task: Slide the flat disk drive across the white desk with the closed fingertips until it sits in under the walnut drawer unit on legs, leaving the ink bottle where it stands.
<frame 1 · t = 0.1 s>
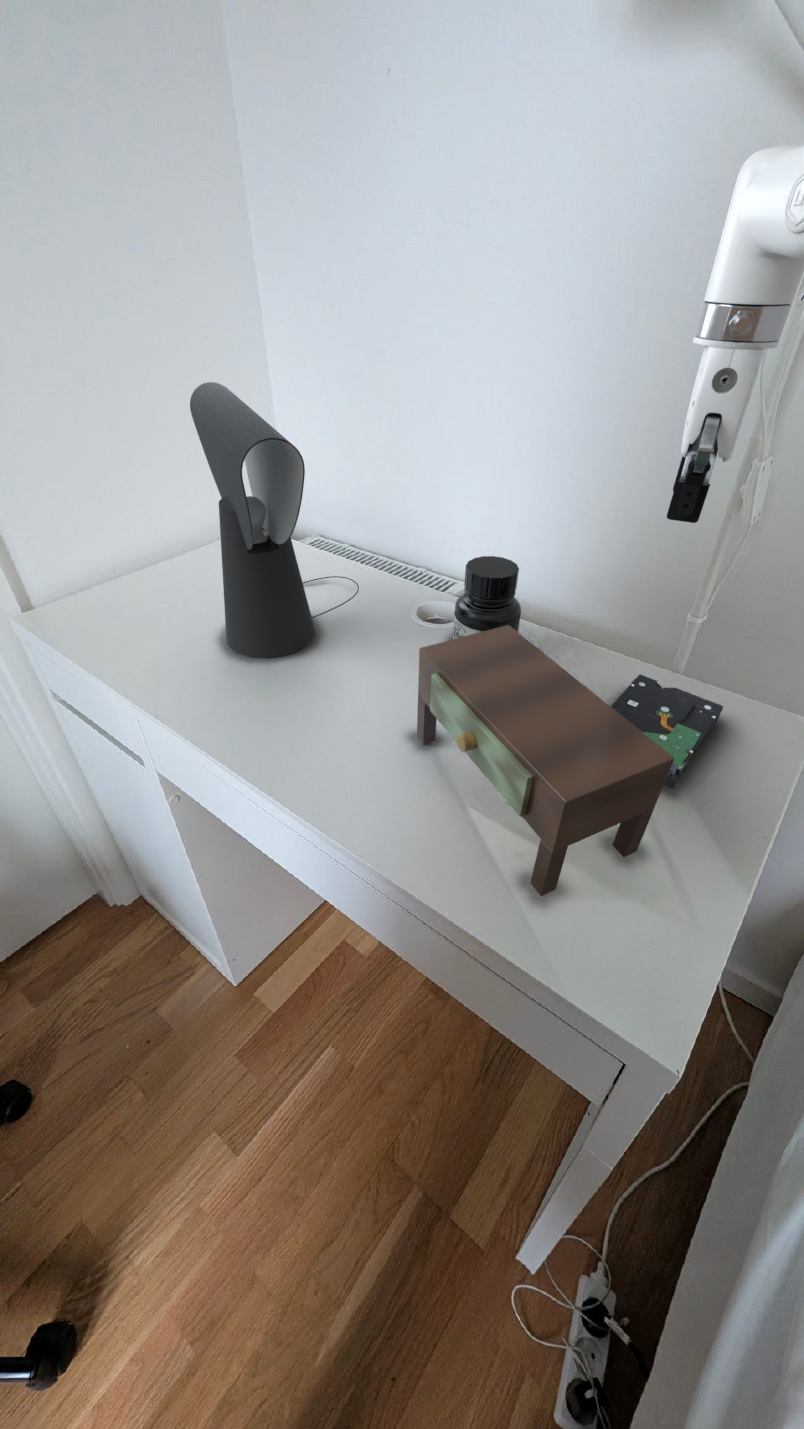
hand: (684, 506, 66), 21 cm above the table, tool pointing down, fingers open, 9 cm apart
disk drive: (650, 737, 67), on the table
table lamp: (276, 614, 89), on the table
drawer unit: (515, 788, 60), on the table
ink bottle: (483, 647, 82), on the table
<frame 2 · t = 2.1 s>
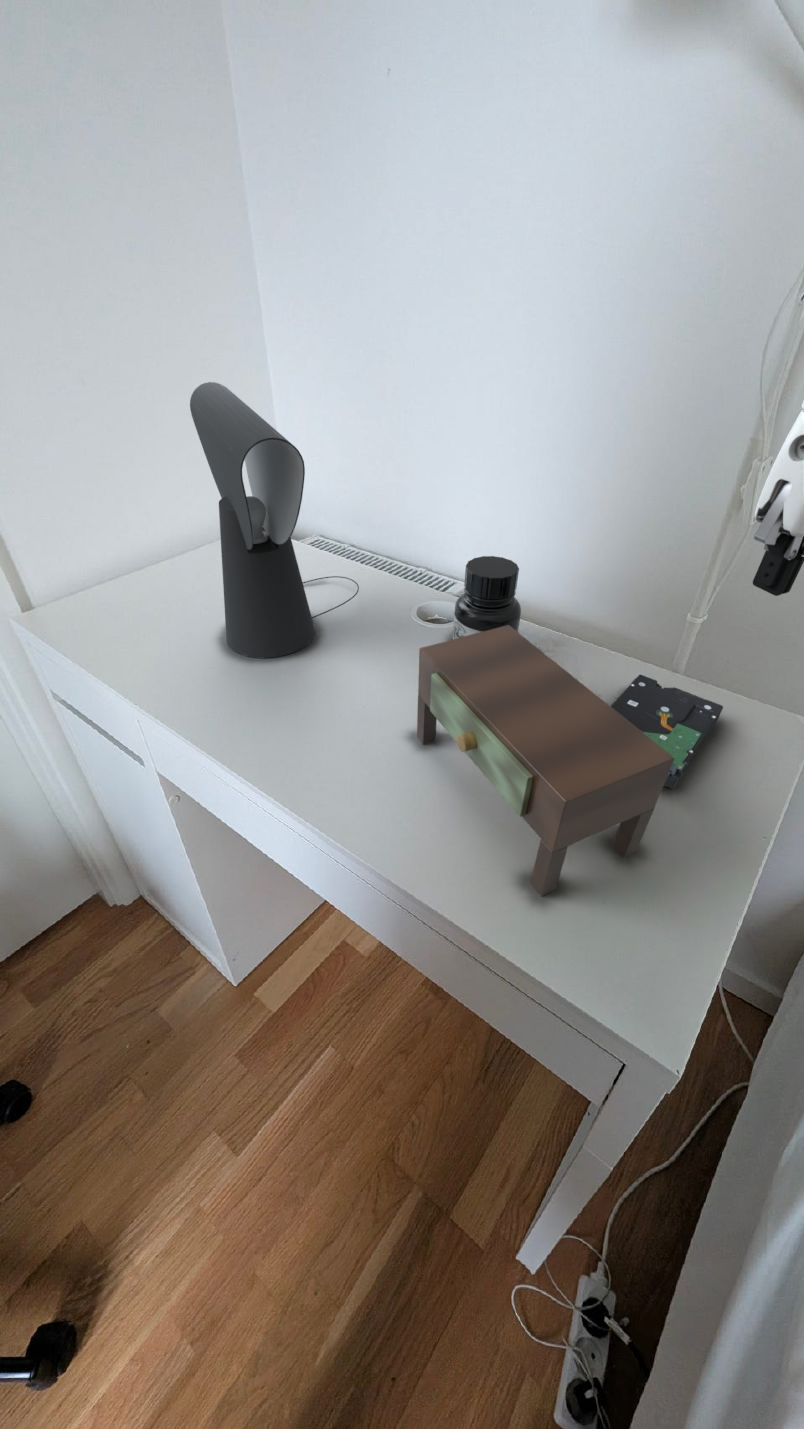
hand: (769, 588, 61), 16 cm above the table, tool pointing down, fingers closed
nothing on the table moved.
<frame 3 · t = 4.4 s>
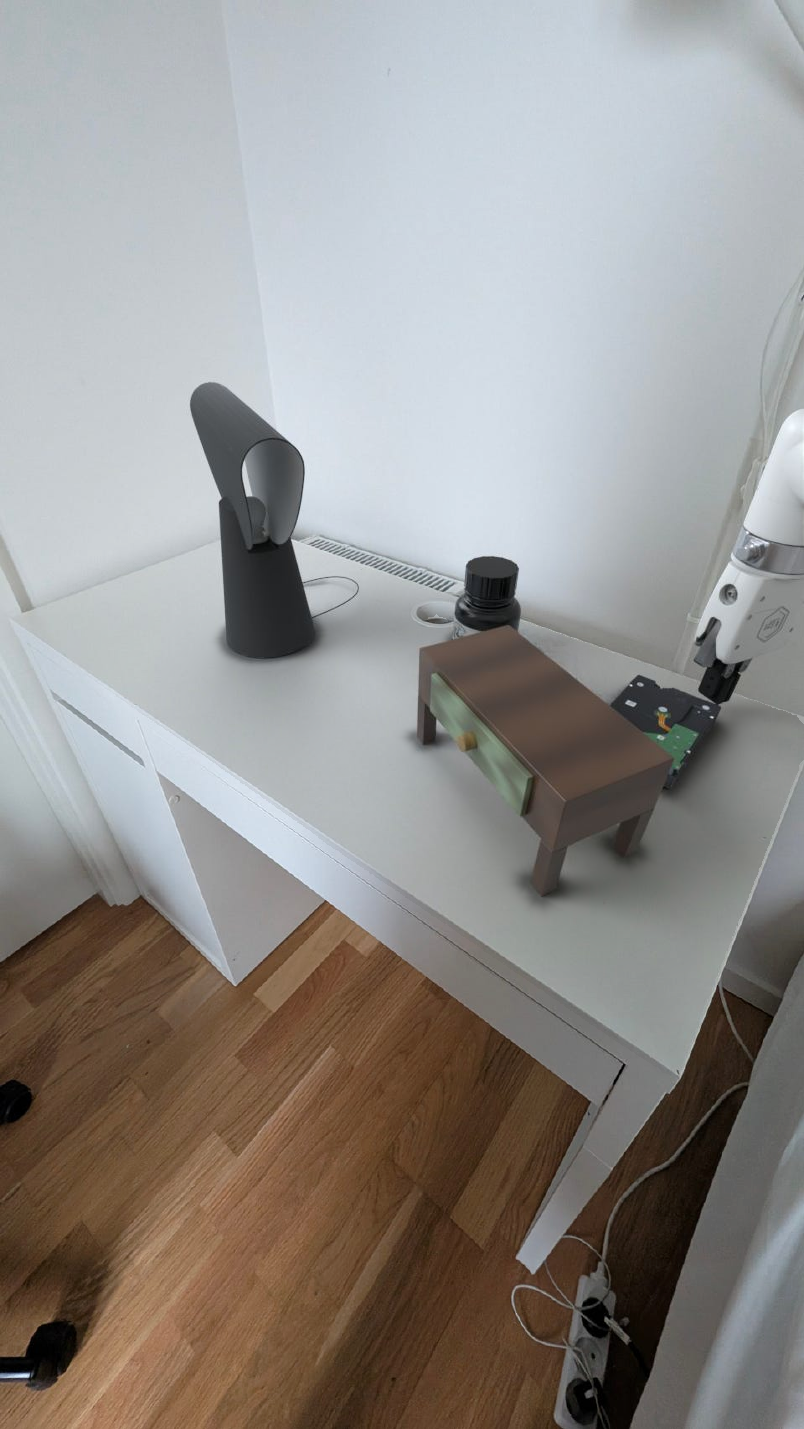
hand: (712, 696, 69), 3 cm above the table, tool pointing down, fingers closed
disk drive: (648, 737, 67), on the table, touching gripper
everything else where it was.
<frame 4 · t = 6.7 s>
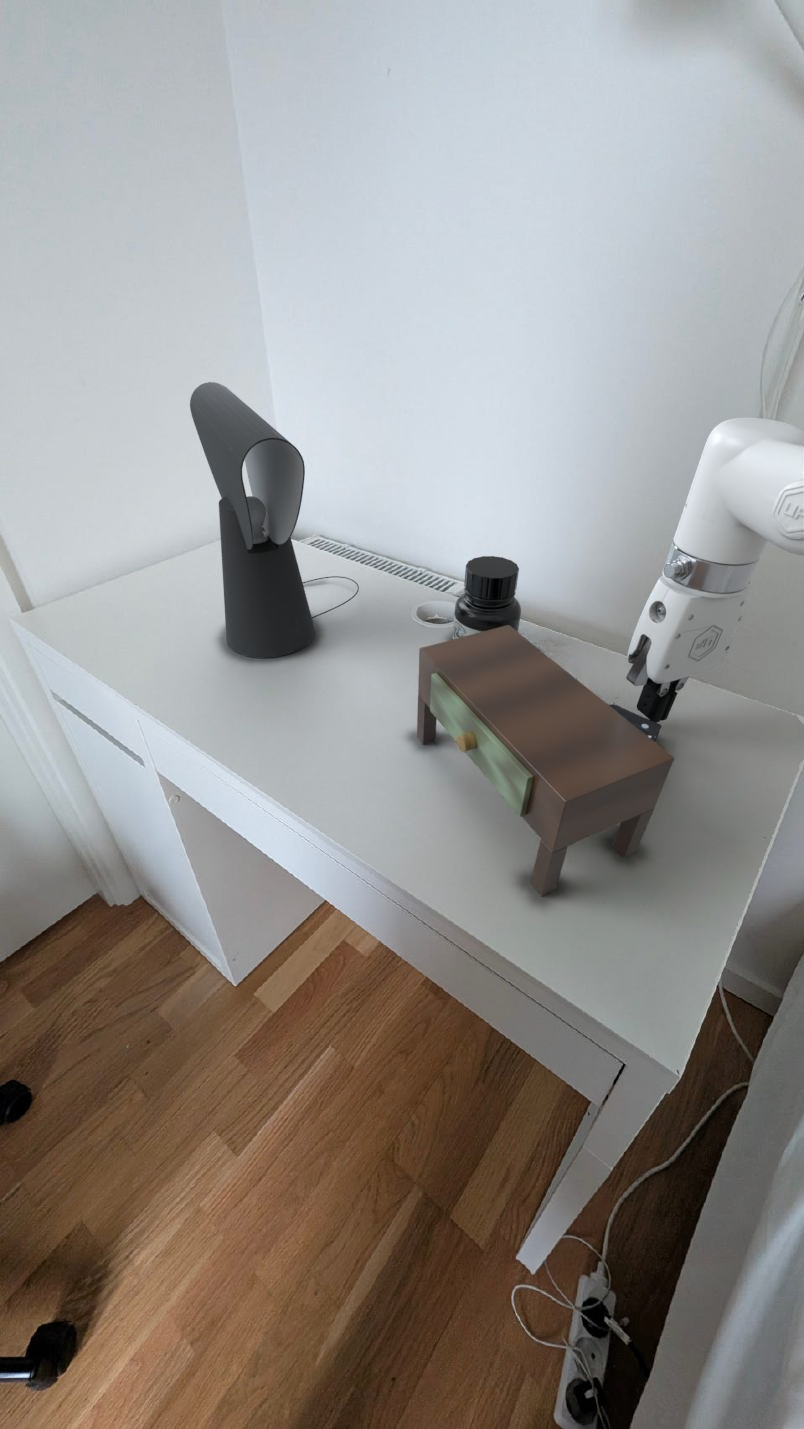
hand: (650, 714, 66), 2 cm above the table, tool pointing down, fingers closed
disk drive: (585, 756, 64), on the table, touching gripper
everything else where it was.
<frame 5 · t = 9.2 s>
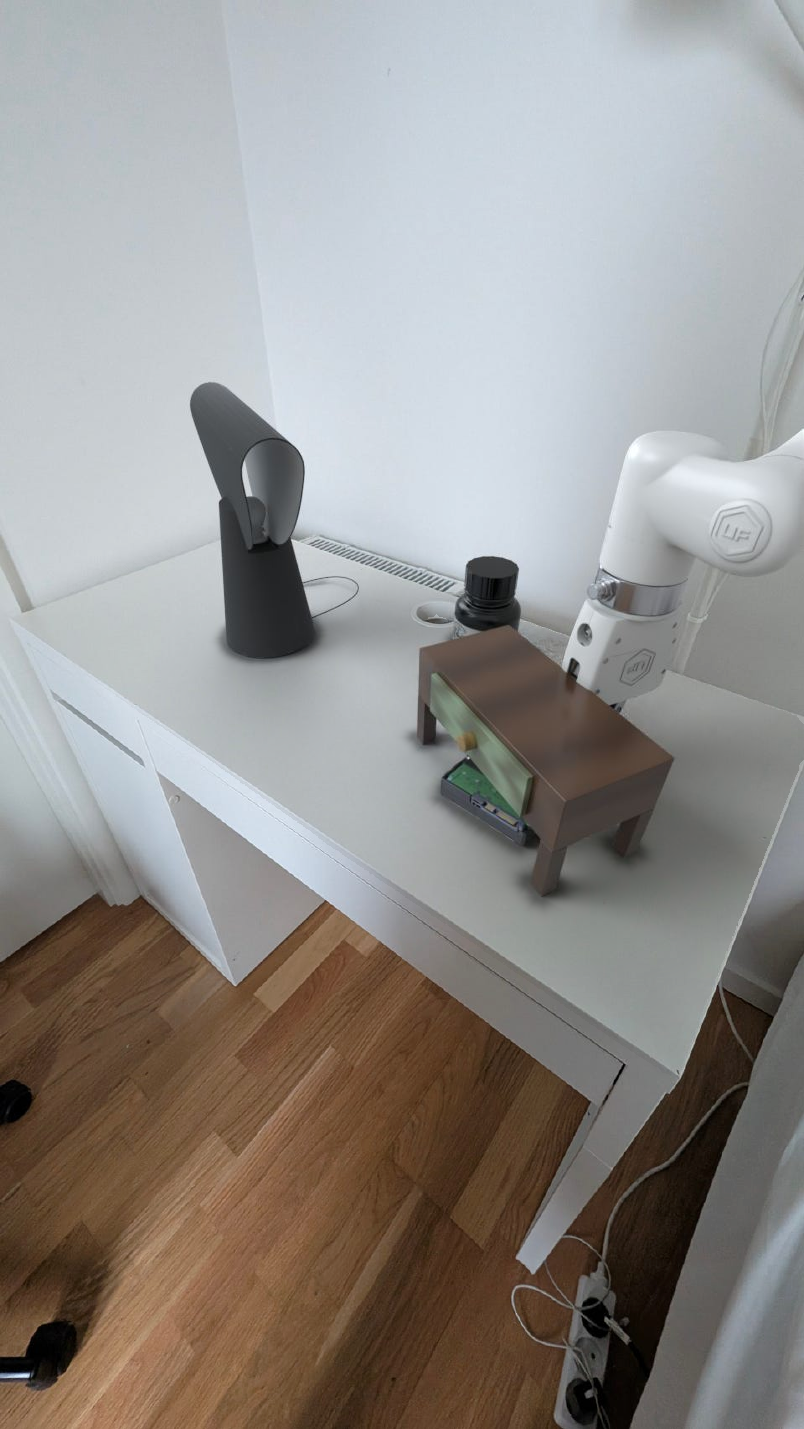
hand: (590, 738, 63), 2 cm above the table, tool pointing down, fingers closed
disk drive: (519, 783, 61), on the table, touching gripper
everything else where it was.
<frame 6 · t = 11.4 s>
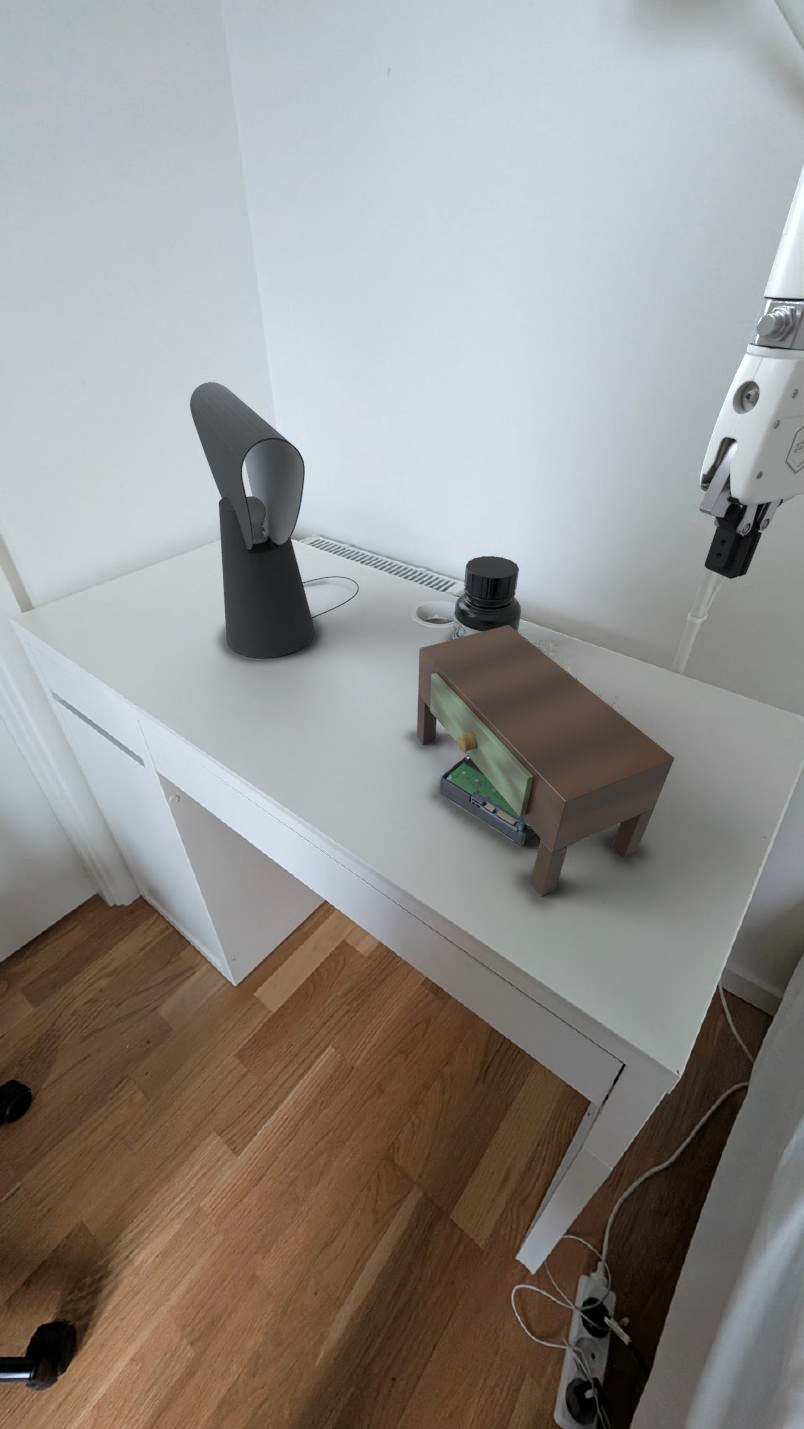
hand: (724, 571, 53), 21 cm above the table, tool pointing down, fingers closed
disk drive: (519, 782, 61), on the table
everything else where it was.
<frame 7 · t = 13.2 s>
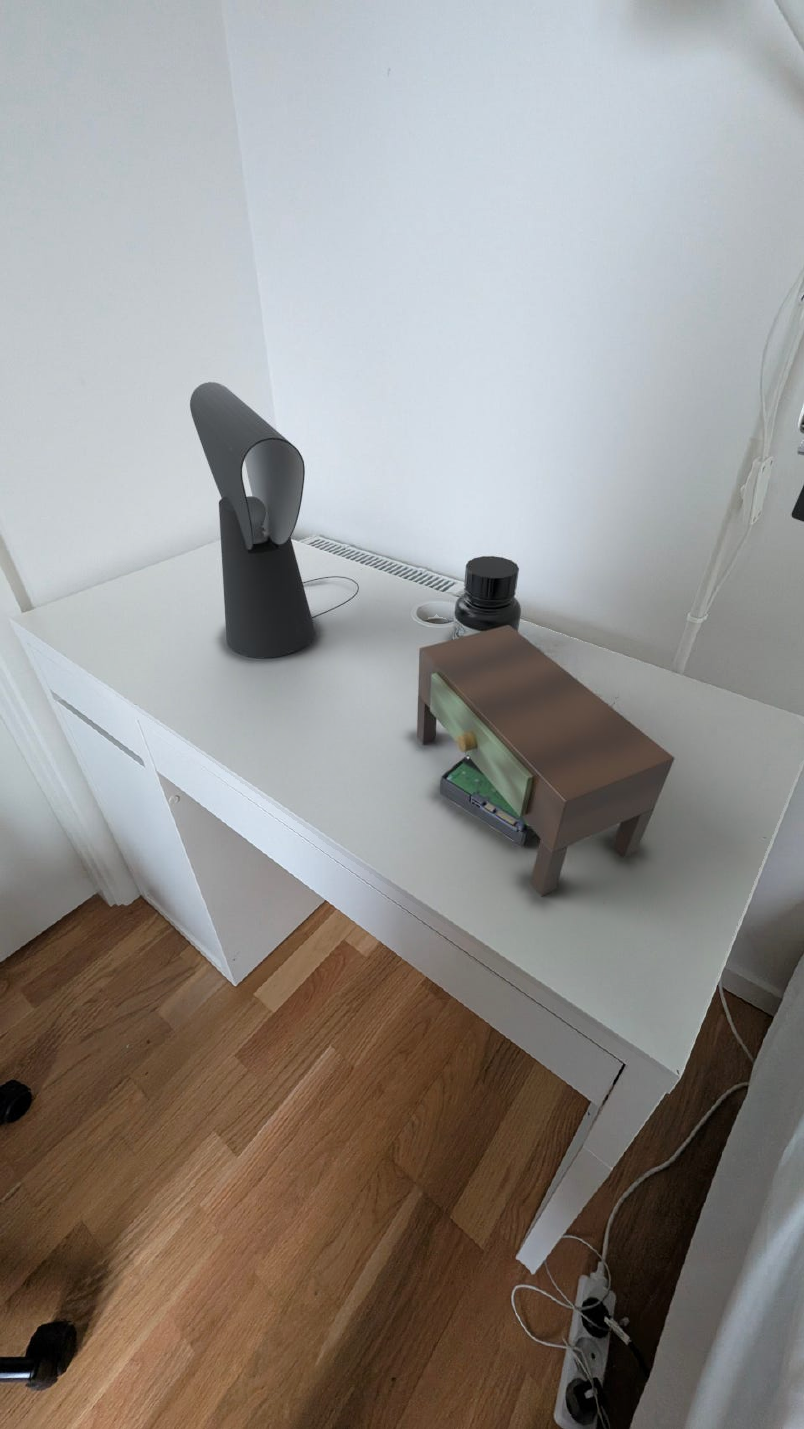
nothing on the table moved.
at the end: disk drive inside the target area on the drawer unit (0.7 cm from its centre), point 0.0 cm above the drawer unit's base; disk drive moved 18.0 cm from its start; ink bottle moved 0.2 cm from its start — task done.
